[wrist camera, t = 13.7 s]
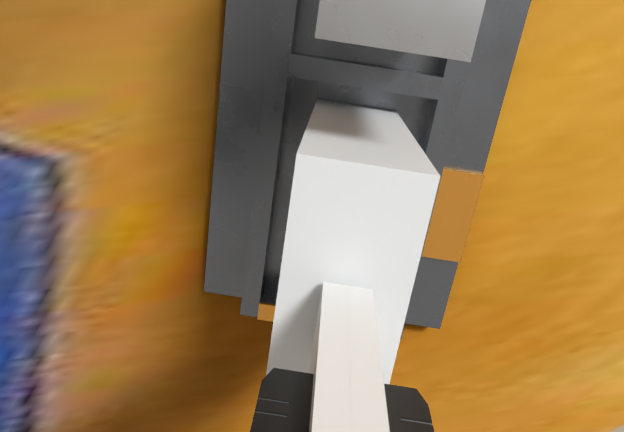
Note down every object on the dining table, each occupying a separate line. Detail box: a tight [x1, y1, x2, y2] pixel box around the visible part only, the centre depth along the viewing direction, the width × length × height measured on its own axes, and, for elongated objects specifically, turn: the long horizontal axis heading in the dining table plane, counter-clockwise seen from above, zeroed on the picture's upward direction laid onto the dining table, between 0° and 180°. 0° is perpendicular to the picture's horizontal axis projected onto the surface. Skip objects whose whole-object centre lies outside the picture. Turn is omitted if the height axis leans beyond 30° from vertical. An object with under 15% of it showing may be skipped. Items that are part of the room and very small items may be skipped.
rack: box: [204, 0, 531, 340], centre depth 19 cm, size 14×27×13 cm, turn 172°
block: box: [266, 99, 440, 384], centre depth 21 cm, size 4×10×12 cm, turn 172°
